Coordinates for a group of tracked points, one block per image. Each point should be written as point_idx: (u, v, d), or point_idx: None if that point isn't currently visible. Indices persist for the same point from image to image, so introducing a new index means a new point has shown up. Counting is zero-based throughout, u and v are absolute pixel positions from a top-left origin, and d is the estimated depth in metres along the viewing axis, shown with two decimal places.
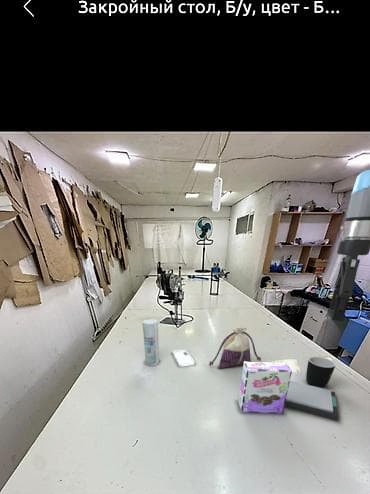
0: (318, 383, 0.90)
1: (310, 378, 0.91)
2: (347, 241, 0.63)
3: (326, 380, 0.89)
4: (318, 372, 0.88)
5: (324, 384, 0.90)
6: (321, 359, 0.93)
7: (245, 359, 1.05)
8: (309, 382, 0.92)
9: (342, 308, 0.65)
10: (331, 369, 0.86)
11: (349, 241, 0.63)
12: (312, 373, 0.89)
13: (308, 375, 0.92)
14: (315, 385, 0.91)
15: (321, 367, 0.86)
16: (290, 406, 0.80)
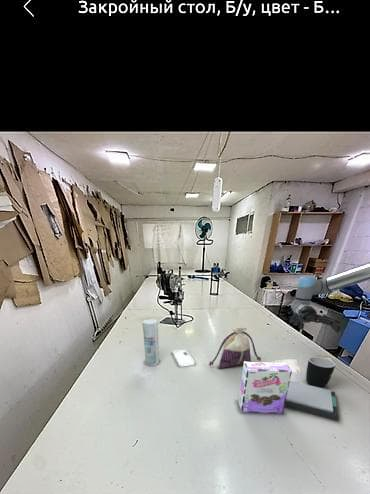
0: (318, 383, 0.90)
1: (310, 378, 0.91)
2: None
3: (326, 380, 0.89)
4: (318, 372, 0.88)
5: (324, 384, 0.90)
6: (321, 359, 0.93)
7: (245, 359, 1.05)
8: (309, 382, 0.92)
9: (296, 322, 1.00)
10: (331, 369, 0.86)
11: None
12: (312, 373, 0.89)
13: (308, 375, 0.92)
14: (315, 385, 0.91)
15: (321, 367, 0.86)
16: (290, 406, 0.80)
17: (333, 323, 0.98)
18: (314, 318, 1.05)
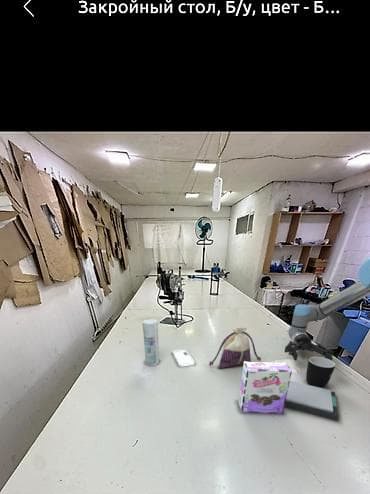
0: (318, 383, 0.90)
1: (310, 378, 0.91)
2: None
3: (326, 380, 0.89)
4: (318, 372, 0.88)
5: (324, 384, 0.90)
6: (321, 359, 0.93)
7: (245, 359, 1.05)
8: (309, 382, 0.92)
9: (290, 353, 1.04)
10: (331, 369, 0.86)
11: None
12: (312, 373, 0.89)
13: (308, 375, 0.92)
14: (315, 385, 0.91)
15: (321, 367, 0.86)
16: (290, 406, 0.80)
17: (326, 354, 1.03)
18: (308, 347, 1.10)
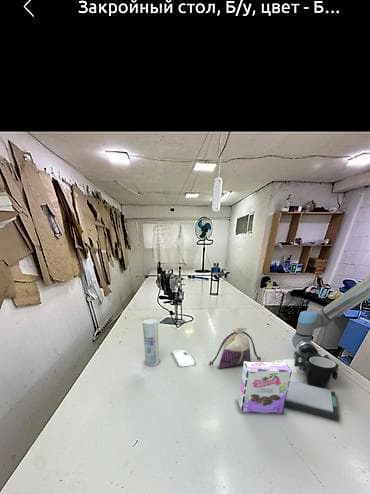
0: (318, 383, 0.89)
1: (310, 378, 0.91)
2: None
3: (326, 380, 0.89)
4: (319, 372, 0.87)
5: (324, 384, 0.90)
6: (321, 359, 0.93)
7: (245, 359, 1.05)
8: (309, 382, 0.92)
9: (302, 367, 0.93)
10: (332, 369, 0.86)
11: None
12: (312, 373, 0.89)
13: None
14: (315, 385, 0.90)
15: (322, 367, 0.86)
16: (290, 406, 0.80)
17: None
18: None
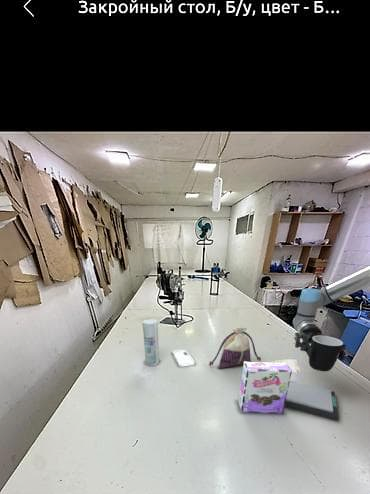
0: (323, 365, 0.78)
1: (314, 359, 0.79)
2: None
3: (332, 361, 0.77)
4: (323, 352, 0.76)
5: (330, 366, 0.78)
6: (326, 338, 0.81)
7: (245, 359, 1.05)
8: (312, 364, 0.80)
9: (304, 348, 0.81)
10: (338, 348, 0.74)
11: None
12: (316, 353, 0.77)
13: None
14: (319, 367, 0.79)
15: (327, 346, 0.74)
16: (290, 406, 0.80)
17: None
18: None
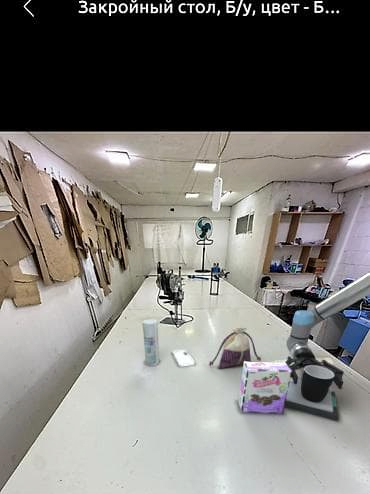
0: (315, 396, 0.77)
1: (305, 390, 0.78)
2: None
3: (324, 393, 0.76)
4: (314, 384, 0.75)
5: (322, 398, 0.77)
6: (318, 368, 0.81)
7: (245, 359, 1.05)
8: (304, 395, 0.79)
9: None
10: (330, 381, 0.74)
11: None
12: (307, 384, 0.77)
13: (303, 387, 0.79)
14: (311, 399, 0.78)
15: (318, 378, 0.74)
16: (290, 406, 0.80)
17: (334, 375, 0.80)
18: None
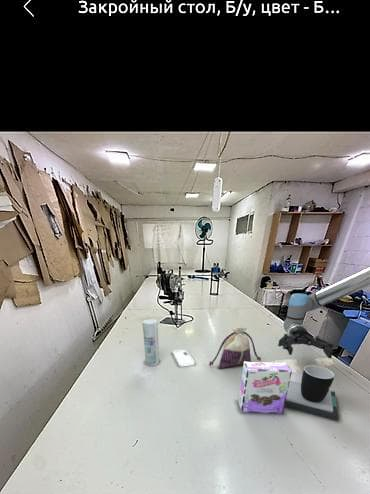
0: (315, 396, 0.77)
1: (305, 390, 0.78)
2: None
3: (324, 393, 0.76)
4: (314, 384, 0.75)
5: (322, 398, 0.77)
6: (318, 368, 0.81)
7: (245, 359, 1.05)
8: (304, 395, 0.79)
9: (285, 346, 0.91)
10: (330, 381, 0.74)
11: None
12: (307, 384, 0.77)
13: (303, 387, 0.79)
14: (311, 399, 0.78)
15: (318, 378, 0.74)
16: (290, 406, 0.80)
17: (325, 347, 0.90)
18: (305, 340, 0.97)
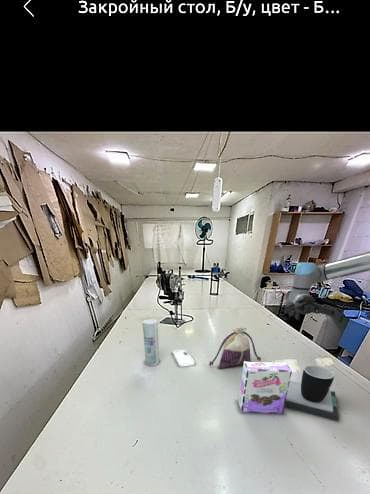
0: (315, 396, 0.77)
1: (305, 390, 0.78)
2: None
3: (324, 393, 0.76)
4: (314, 384, 0.75)
5: (322, 398, 0.77)
6: (318, 368, 0.81)
7: (245, 359, 1.05)
8: (304, 395, 0.79)
9: (292, 312, 0.86)
10: (330, 381, 0.74)
11: None
12: (307, 384, 0.77)
13: (303, 387, 0.79)
14: (311, 399, 0.78)
15: (318, 378, 0.74)
16: (290, 406, 0.80)
17: (335, 312, 0.84)
18: (313, 308, 0.91)
